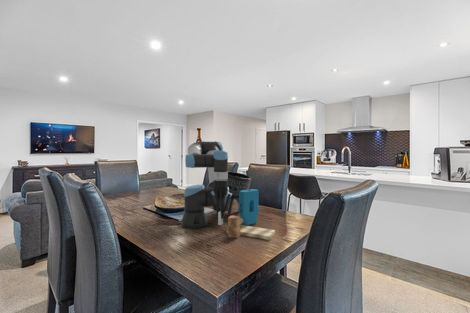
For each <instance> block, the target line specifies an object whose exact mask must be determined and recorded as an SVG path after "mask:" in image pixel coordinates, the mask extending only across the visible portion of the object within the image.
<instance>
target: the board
mask: <svg viewBox="0 0 470 313" xmlns="http://www.w3.org/2000/svg"><path fill="white" fill-rule="evenodd" d="M226 233H227V234H228V228H226ZM275 234H276V230H275V229H270V228H263V227H259V226H250V225H243V224H242V227H240V236H242V237H243V236H244V237H250V238H255V239H256V238H257V239H261V240H266V241H271V239H273V237H274V236H275Z"/></svg>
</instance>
